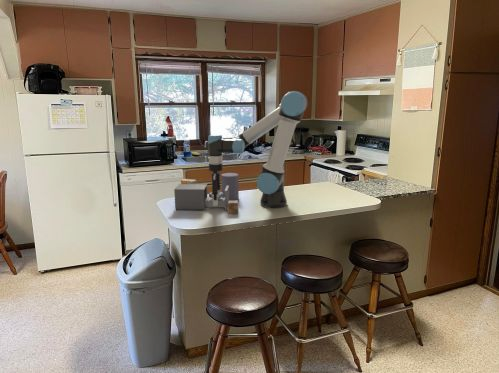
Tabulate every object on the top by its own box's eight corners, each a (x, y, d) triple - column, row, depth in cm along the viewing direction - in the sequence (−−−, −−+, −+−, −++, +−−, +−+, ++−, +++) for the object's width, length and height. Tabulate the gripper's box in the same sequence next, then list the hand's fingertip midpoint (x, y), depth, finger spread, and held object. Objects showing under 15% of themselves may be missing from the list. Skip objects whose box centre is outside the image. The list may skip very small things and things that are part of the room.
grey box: (207, 204, 217) (206, 184, 215) (204, 210, 206) (203, 189, 203) (180, 204, 218) (179, 184, 215) (175, 210, 206) (174, 189, 203)
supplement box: (181, 201, 224) (180, 180, 221) (185, 199, 228) (184, 178, 225) (193, 202, 221) (192, 181, 218) (197, 200, 225) (196, 179, 222)
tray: (229, 204, 217) (228, 185, 214) (227, 210, 205) (226, 190, 203) (202, 204, 217) (201, 185, 215) (199, 210, 206) (198, 190, 203)
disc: (224, 194, 214) (224, 192, 213) (222, 198, 206) (222, 195, 205) (210, 194, 214) (210, 191, 213) (208, 198, 206) (208, 195, 206)
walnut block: (238, 211, 205) (238, 200, 203) (237, 213, 200) (237, 203, 198) (229, 211, 205) (228, 200, 203) (228, 213, 200) (228, 203, 198)
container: (220, 197, 233) (219, 173, 229) (236, 195, 236) (235, 172, 232) (224, 201, 223) (223, 176, 220) (240, 200, 226) (240, 175, 223)
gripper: (211, 160, 216) (212, 198, 221) (205, 166, 195) (207, 208, 201) (224, 160, 215) (225, 198, 221) (220, 166, 195) (221, 208, 201)
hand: (216, 203), depth 211 cm, fingers closed on disc, 8 cm apart
